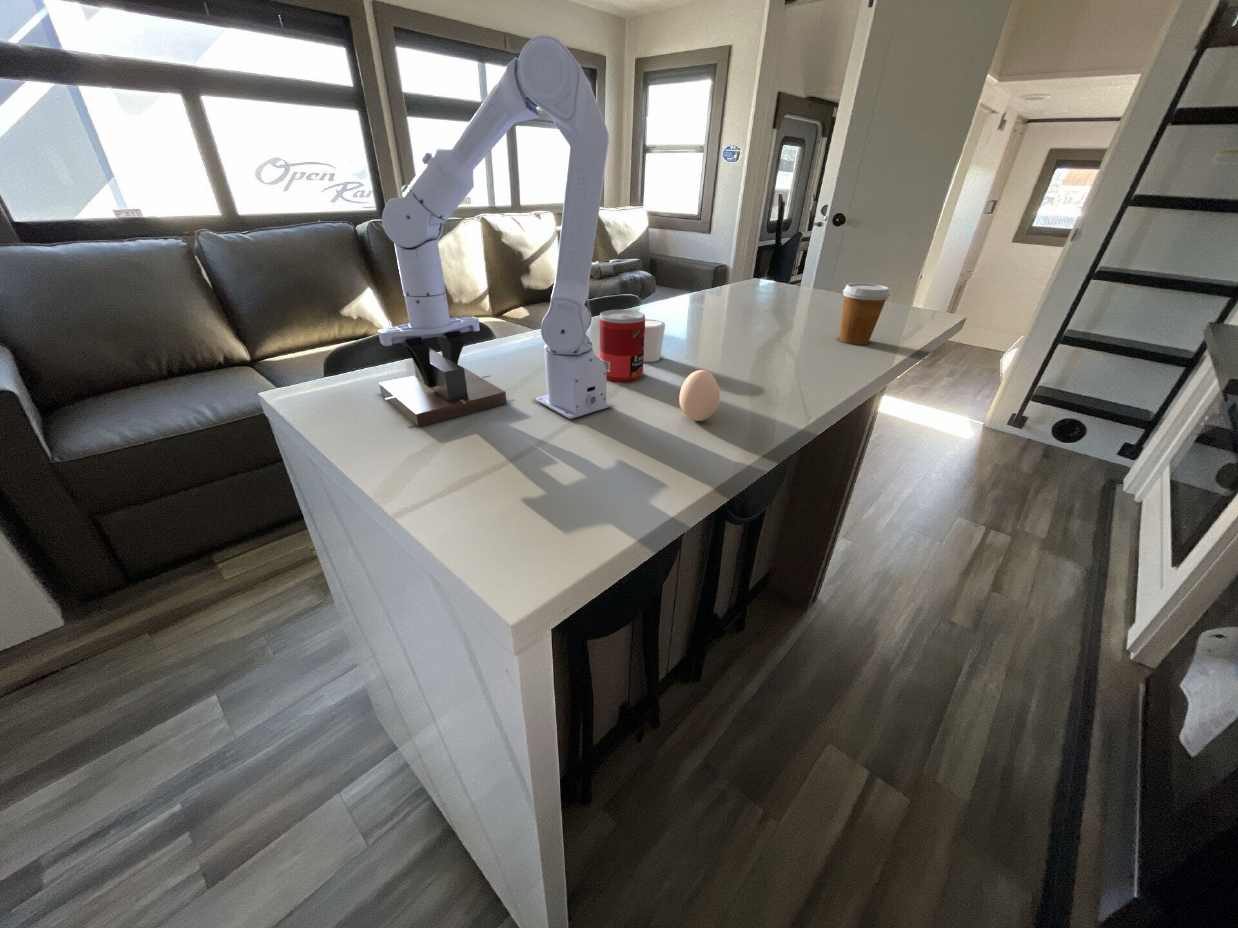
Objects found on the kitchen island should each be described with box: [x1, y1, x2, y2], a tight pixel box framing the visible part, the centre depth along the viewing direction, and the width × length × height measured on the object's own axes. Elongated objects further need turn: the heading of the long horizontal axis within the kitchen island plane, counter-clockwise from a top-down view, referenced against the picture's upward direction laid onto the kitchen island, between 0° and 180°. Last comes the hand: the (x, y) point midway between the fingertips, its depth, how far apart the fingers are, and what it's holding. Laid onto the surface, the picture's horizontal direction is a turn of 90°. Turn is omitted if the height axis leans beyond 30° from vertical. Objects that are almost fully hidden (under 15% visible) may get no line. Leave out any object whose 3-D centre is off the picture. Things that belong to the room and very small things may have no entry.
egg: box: [678, 369, 721, 422], centre depth 71 cm, size 6×6×8 cm
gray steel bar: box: [412, 347, 468, 401], centre depth 76 cm, size 13×3×5 cm, turn 40°
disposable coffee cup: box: [838, 282, 890, 345], centre depth 110 cm, size 10×10×12 cm
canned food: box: [599, 309, 646, 383], centre depth 87 cm, size 8×8×11 cm
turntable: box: [378, 365, 508, 428], centre depth 78 cm, size 17×17×2 cm
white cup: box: [643, 318, 666, 363], centre depth 98 cm, size 7×7×7 cm
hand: (440, 382), depth 77 cm, fingers closed on gray steel bar, 3 cm apart
